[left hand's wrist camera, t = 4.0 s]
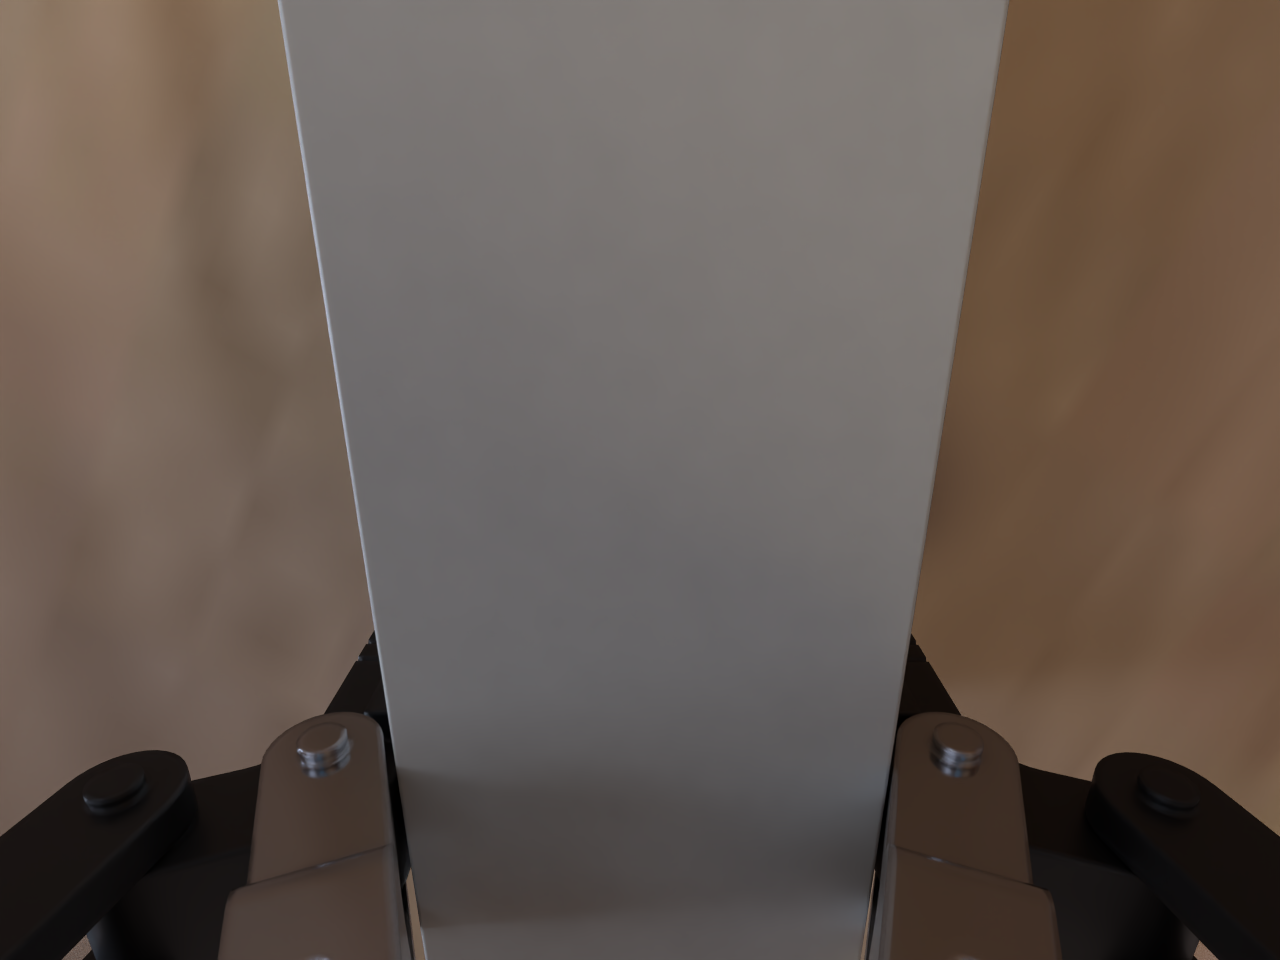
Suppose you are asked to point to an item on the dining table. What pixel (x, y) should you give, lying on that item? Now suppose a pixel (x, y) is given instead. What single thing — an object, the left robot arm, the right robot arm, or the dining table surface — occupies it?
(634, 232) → the bar
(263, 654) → the dining table surface
